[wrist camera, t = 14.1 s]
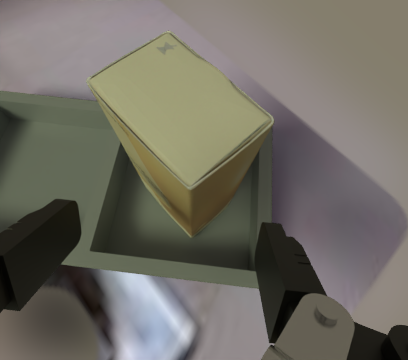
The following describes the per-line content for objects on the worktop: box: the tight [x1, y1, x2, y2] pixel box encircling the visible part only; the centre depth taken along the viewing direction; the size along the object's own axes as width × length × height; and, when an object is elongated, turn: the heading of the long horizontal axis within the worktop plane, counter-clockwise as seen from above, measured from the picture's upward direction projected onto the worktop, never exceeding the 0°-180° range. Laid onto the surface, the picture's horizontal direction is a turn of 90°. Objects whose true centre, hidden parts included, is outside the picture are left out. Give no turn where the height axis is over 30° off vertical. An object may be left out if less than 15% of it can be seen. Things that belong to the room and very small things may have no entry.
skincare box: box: [86, 31, 274, 238], centre depth 14 cm, size 6×4×12 cm
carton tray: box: [0, 91, 272, 289], centre depth 19 cm, size 25×13×4 cm, turn 83°
